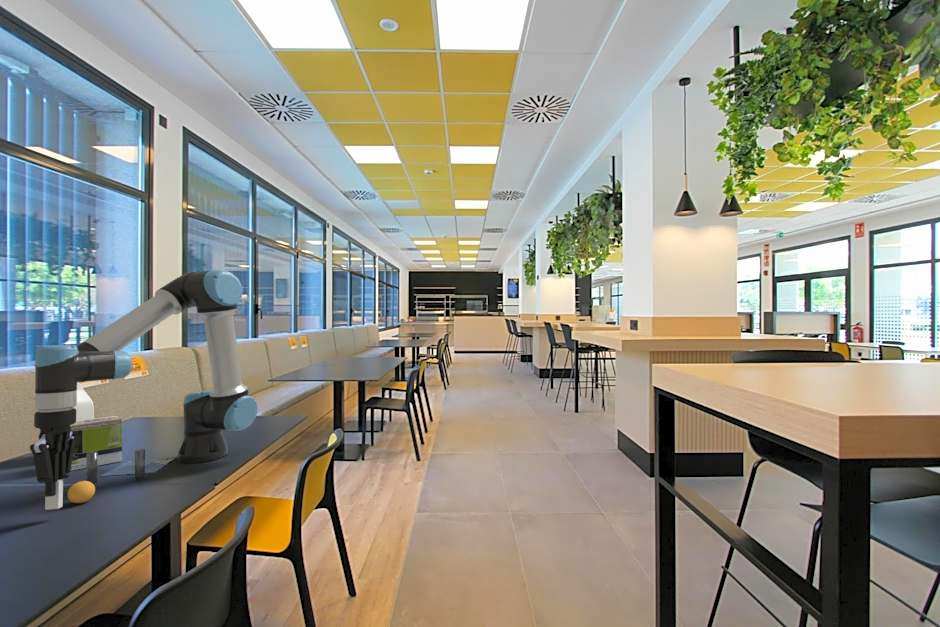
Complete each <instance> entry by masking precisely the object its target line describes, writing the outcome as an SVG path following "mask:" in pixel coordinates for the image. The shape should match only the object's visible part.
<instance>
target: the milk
mask: <svg viewBox="0 0 940 627" xmlns="http://www.w3.org/2000/svg"><path fill="white" fill-rule="evenodd" d="M94 407H95V406H94V402H93V400H92V399H91V397H90V396H89V395H88V393H87V392H86V390H84V388H83V386H82V384H81V382H77V405H76V406H75V407H74V408H75V409H76V421H79V420H86V419H94V418H95V408H94Z"/></svg>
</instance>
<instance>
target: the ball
mask: <svg viewBox="0 0 940 627" xmlns="http://www.w3.org/2000/svg"><path fill="white" fill-rule="evenodd" d="M95 493H96V486H95V484H92V483H91V482H89V481H86V480H82V481H78V482H76V483H74V484H72V485H71V486H70V487H69V489H68V491H67V498H68V500H69V501H70V502H71V503H74V504H83V503H86V502H88V501H89V500H91V498H93V496H94V495H95Z"/></svg>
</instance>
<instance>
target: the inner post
mask: <svg viewBox="0 0 940 627" xmlns="http://www.w3.org/2000/svg"><path fill="white" fill-rule="evenodd" d="M145 460H146V449H145V448H137V449H135V450H134V461H135V474H134V482H135V481H138V482H143V481H144V480H146V479H145V478H146V473H145ZM142 480H143V481H142Z"/></svg>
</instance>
